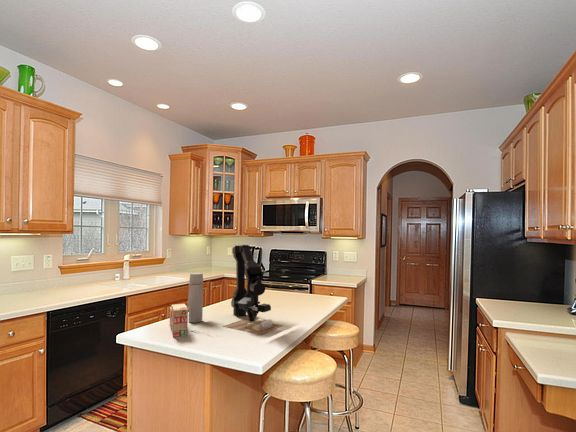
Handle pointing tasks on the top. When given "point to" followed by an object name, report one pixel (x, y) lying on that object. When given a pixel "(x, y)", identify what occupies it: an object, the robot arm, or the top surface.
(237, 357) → the top surface
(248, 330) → the bench board
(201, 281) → the water bottle
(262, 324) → the bench dog
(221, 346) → the top surface
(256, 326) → the birch plate
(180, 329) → the stack of blocks
